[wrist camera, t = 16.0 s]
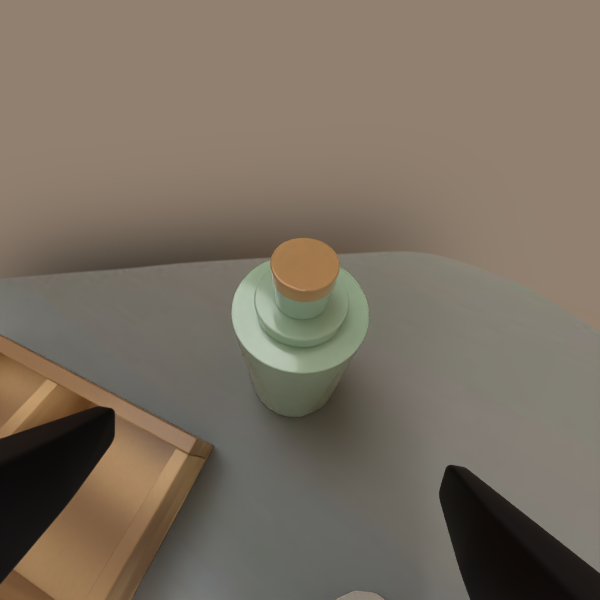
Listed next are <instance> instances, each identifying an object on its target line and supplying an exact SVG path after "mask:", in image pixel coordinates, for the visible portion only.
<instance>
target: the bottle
mask: <svg viewBox="0 0 600 600" xmlns="http://www.w3.org/2000/svg"><path fill="white" fill-rule="evenodd" d="M231 317H232V324H233V328H234V331H235V334H236V337H237V340H238V343H239V346H240V349H241V352H242V355H243V358H244V361H245V364H246V366H247V369H248V372H249V375H250V378H251V381H252V384H253V387H254V390H255V392H256V394H257V396H258V398H259V399H260V400H261V402H262V403H263V404H264V405H265V406H266V407H267V408H269V409H270V410H272V411H274V412H276V413H278V414H280V415H283V416H289V417H300V416H305V415H309V414H311V413H313V412H315V411H317V410H319V409H320V408H321V407H322V406H324V405H325V404H326V403H327V401H328V400H329V399H330V397H331V395H332V394H333V392H334V390H335V388H336V387H337V385H338V383H339V382H340V380H341V378H342V376H343V375H344V373H345V371H346V369H347V368H348V366H349V364H350V362H351V361H352V359H353V357H354V356H355V354H356V352H357V350H358V349H359V347H360V345H361V343H362V341H363V340H364V338H365V335H366V332H367V330H368V324H369V307H368V303H367V299H366V297H365V294H364V292H363V290H362V289H361V287H360V285H359V284H358V283H357V281H356V280H355V279H354V278H353V277H352V276H351V275H350V274H349V273H348V272H347V271H346V270H344V269H343V268H341V267H340V263H339V259H338V257H337V255H336V253H335V252H334V251H333V249H331V248H330V247H329V246H328V245H327V244H325V243H323V242H321V241H319V240H315V239H311V238H295V239H291V240H288V241H286V242H284V243H282V244H281V245H280V246H278V247H277V249H276V250H275V251H274V253H273V255H272V257H271V260H268V261H266V262H264V263H262V264H261V265H259V266H257V267H256V268H254V269H253V270H252V271H251V272H250V273H249V274H248V275H247V276H246V277H245V278H244V279H243V280H242V282H241V283H240V284H239V286H238V288H237V290H236V292H235V295H234V298H233V302H232V307H231Z"/></svg>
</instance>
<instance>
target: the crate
mask: <svg viewBox="0 0 600 600" xmlns="http://www.w3.org/2000/svg"><path fill="white" fill-rule="evenodd" d="M96 406H103V407H109V408H112V409H114V411H115V437H114V440H113V442H112V444H111V446H110V447H109V448H108V450H107V451H106V453H105V454H104V455H103V457H102V458H101V459H100V461H99V462H98V464H97V465H96V466H95V468H94V469H93V471H92V472H91V473H90V475H89V476H88V478H87V479H86V480H85V482H84V483H83V485H82V486H81V487H80V489H79V490H78V491H77V493H76V494H75V496H74V497H73V498H72V499H71V501H70V502H69V503H68V505H67V506H66V507H65V508H64V510H63V511H62V512H61V513H60V514H59V516H58V517H57V518H56V519H55V520H54V522H53V523H52V524H51V525H50V526H49V528H48V529H47V530H46V531H45V532H44V533H43V535H42V536H41V537H40V538H39V539H38V541H37V542H36V543H35V544H34V545H33V547H32V548H31V549H30V550H29V551H28V552H27V554H26V555H25V556H24V557H23V558H22V560H21V561H20V562H19V563H18V564H17V566H16V567H15V568H14V569H13V570H12V571H11V573H10V574H9V575H8V576H7V577H6V579H5V580H4V581H3V582H2V583H1V584H0V600H131V599H132V597H133V595H134V593H135V592H136V590H137V588H138V586H139V584H140V582H141V580H142V579H143V577H144V575H145V573H146V571H147V569H148V567H149V566H150V564H151V562H152V560H153V558H154V556H155V554H156V553H157V551H158V549H159V547H160V545H161V543H162V541H163V540H164V538H165V536H166V534H167V532H168V530H169V528H170V527H171V525H172V523H173V521H174V519H175V517H176V515H177V514H178V512H179V510H180V508H181V506H182V504H183V502H184V501H185V499H186V497H187V495H188V493H189V491H190V489H191V488H192V486H193V484H194V482H195V480H196V478H197V476H198V474H199V473H200V471H201V469H202V467H203V465H204V463H205V461H206V460H207V458H208V456H209V454H210V452H211V450H212V448H213V447H214V446H213V445H211V444H209V443H208V442H206V441H204V440H202V439H200V438H198V437H196V436H194V435H192V434H190V433H188V432H186V431H185V430H183V429H181V428H179V427H177V426H175V425H173V424H171V423H169V422H167V421H165V420H164V419H162V418H160V417H158V416H156V415H154V414H152V413H150V412H148V411H146V410H144V409H142V408H141V407H139V406H137V405H135V404H133V403H131V402H129V401H127V400H125V399H123V398H121V397H119V396H118V395H116V394H114V393H112V392H110V391H108V390H106V389H104V388H102V387H100V386H98V385H97V384H95V383H93V382H91V381H89V380H87V379H85V378H83V377H81V376H79V375H77V374H75V373H74V372H72V371H70V370H68V369H66V368H64V367H62V366H60V365H58V364H56V363H54V362H53V361H51V360H49V359H47V358H45V357H43V356H41V355H39V354H37V353H35V352H33V351H31V350H30V349H28V348H26V347H24V346H22V345H20V344H18V343H16V342H14V341H12V340H10V339H9V338H7V337H5V336H3V335H1V334H0V439H1V438H4V437H7V436H10V435H13V434H15V433H18V432H21V431H24V430H27V429H30V428H33V427H36V426H39V425H42V424H45V423H48V422H51V421H54V420H57V419H60V418H63V417H66V416H69V415H72V414H75V413H78V412H81V411H84V410H87V409H90V408H93V407H96Z"/></svg>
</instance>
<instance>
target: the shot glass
mask: <svg viewBox="0 0 600 600" xmlns="http://www.w3.org/2000/svg"><path fill="white" fill-rule="evenodd" d="M335 600H385V599H383V598H382V597H380V596H379V595H377V594H376V593H373V592H364V591H356V590H354V591H352V592H350V593H347V594H345V595H343V596H341V597H339V598H337V599H335Z"/></svg>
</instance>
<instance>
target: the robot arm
mask: <svg viewBox="0 0 600 600" xmlns="http://www.w3.org/2000/svg"><path fill="white" fill-rule="evenodd" d="M114 437H115V411H114V409H112V408H109V407H103V406H96V407H93V408H90V409H87V410H84V411H81V412H78V413H75V414H72V415H69V416H66V417H63V418H60V419H57V420H54V421H51V422H48V423H45V424H42V425H39V426H36V427H33V428H30V429H27V430H24V431H21V432H18V433H15V434H13V435H10V436H7V437H4V438H1V439H0V584H1V583H2V582H3V581H4V580H5V579H6V577H7V576H8V575H9V574H10V573H11V571H12V570H13V569H14V568H15V567H16V566H17V564H18V563H19V562H20V561H21V560H22V558H23V557H24V556H25V555H26V554H27V552H28V551H29V550H30V549H31V548H32V547H33V545H34V544H35V543H36V542H37V541H38V539H39V538H40V537H41V536H42V535H43V533H44V532H45V531H46V530H47V529H48V528H49V526H50V525H51V524H52V523H53V522H54V520H55V519H56V518H57V517H58V516H59V514H60V513H61V512H62V511H63V510H64V508H65V507H66V506H67V505H68V503H69V502H70V501H71V499H72V498H73V497H74V496H75V494H76V493H77V491H78V490H79V489H80V487H81V486H82V485H83V483H84V482H85V480H86V479H87V478H88V476H89V475H90V473H91V472H92V471H93V469H94V468H95V466H96V465H97V464H98V462H99V461H100V459H101V458H102V457H103V455H104V454H105V453H106V451H107V450H108V448H109V447H110V446H111V444H112V442H113V440H114ZM439 498H440V503H441V506H442V510H443V513H444V517H445V520H446V524H447V527H448V531H449V534H450V538H451V542H452V545H453V549H454V552H455V556H456V559H457V562H458V566H459V569H460V572H461V575H462V578H463V581H464V584H465V587H466V589H467V592H468V595H469V597H470V600H600V573H599V572H597V571H596V570H595V569H594V568H592V567H591V566H590V565H589V564H587V563H586V562H585V561H583V560H582V559H581V558H580V557H578V556H577V555H576V554H575V553H573V552H572V551H571V550H569V549H568V548H567V547H566V546H564V545H563V544H562V543H561V542H559V541H558V540H557V539H556V538H554V537H553V536H552V535H550V534H549V533H548V532H547V531H545V530H544V529H543V528H542V527H540V526H539V525H538V524H537V523H535V522H534V521H533V520H531V519H530V518H529V517H528V516H526V515H525V514H524V513H523V512H521V511H520V510H519V509H517V508H516V507H515V506H514V505H512V504H511V503H510V502H509V501H507V500H506V499H505V498H504V497H502V496H501V495H500V494H498V493H497V492H496V491H495V490H493V489H492V488H491V487H490V486H488V485H487V484H486V483H485V482H483V481H482V480H481V479H479V478H478V477H477V476H476V475H474V474H473V473H472V472H471V471H469V470H468V469H467V468H465V467H461V466H455V465H448V466H447V467H446V470H445V473H444V476H443V480H442V483H441V487H440V491H439Z"/></svg>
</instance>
